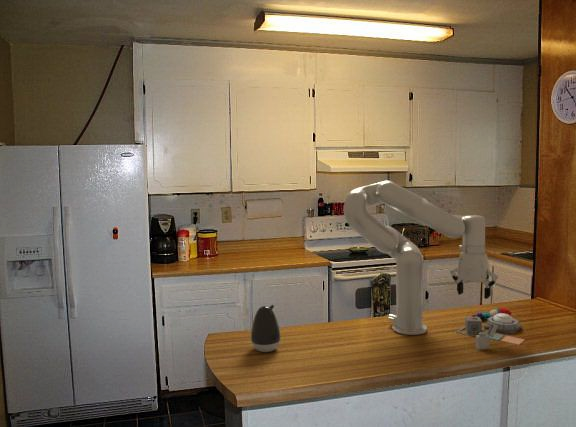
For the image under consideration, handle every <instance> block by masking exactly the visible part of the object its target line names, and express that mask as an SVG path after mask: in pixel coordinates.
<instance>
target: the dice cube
mask: <svg viewBox="0 0 576 427" xmlns="http://www.w3.org/2000/svg"><path fill="white" fill-rule="evenodd" d="M464 318H465V319H464V327H465V328H464V329H465V332H466V334H470V335H479V333H481V332H483V330H482V329H483V320H481V319H480V317H477V316H475V317H471V316H465V317H464Z"/></svg>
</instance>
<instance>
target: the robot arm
mask: <svg viewBox="0 0 576 427" xmlns="http://www.w3.org/2000/svg"><path fill="white" fill-rule="evenodd" d="M383 204H384V205H385V206H388V207H389V208H391V209H393V210H395V211H396V212H397V211H398V212H399V213H401V214H403V215H405V216H407V217H408V218H411V219H412V220H415V221H417V222H419V223H420V224H422V225H425V226H427V227H429V228H430V229H432V230H434V231H437V232H438V233H439V234H442V235H444V236H445V237H447V238H450V239H457V238H460V237H461V236H462V244H460V245H459V246H458V248H459V250H461V252H460V253H459V258H458V265H457V267H456V268H454V269H452V270H450V271H449V272H450V275H451V277H452V279H453V281H455V283H456V291H457V295H462V294H464V282H463V281H465V282H474V283H479V284H480V283H482V284H483V285H484V286H485V287H484V288H483V290H484V291H483V293H484V294H483V295H484V296H483V297H484V298H483V299H485V300H486V299H489V298H490V297H491V296H492V294H491V292H492V291H491V289H492V287H493V286H494V285H495V284H496V282H497V281H498V279H499V277H500V276H499V275H497V274H495V273H494V272H492V271H491V270H490V266H489V259H488V254H487V253H486V219H485V216H483V215H478V214H474V215H472V214H470V215H459V214H452V213H449V212H447V211H446V210H444V209H441V208H440V207H439V206H436V205H434V204H433V203H431V202H430V201H429V200H427V199H426V198H424V197H423V196H421V195H418V194H416V193H414V192H412V191H411V190H408V189H407V188H404V187H402V186H400V185H399V184H397V183H395V182H393V181H391V180H389V179H388V180H387V179H386V180H383V181H379V182H377V183H373V184H369V185H364V186H360V187H357V188H354V189H352V190H350V191H349V192H347V195H346V196H345V200H344V205H343V215H344V218H345V220H346V223H347V224H348V226H349V227H350V228H351V229H352V230H353V231H355V232H356V233H357V234H358V235H359V236H361V237H362V238H363V239H364V240H365V241H367V243H368V244H371V245H372V246H373V247H374V248H376V250H377V251H379V252H380V253H383V254H387V255H388V256H390V257H391V258H392V259H393V260H394V261H396V263H395V266H396V267H395V268H396V270H395V272H396V275H395V277H396V279H395V280H396V281H395V282H396V283H395V288H396V294H395V295H396V315H395V314H391V313H389V315H388V318H387V320H388V321H389V322H393V324H392V330H393V331H394V332H395V333H398V334H401V335H408V336H417V335H423V334H425V333H426V332H427V331H428V326H426V325H425V324H423V321H424V319H423V318H424V317H423V315H424V314H423V313H424V312H423V310H424V309H423V307H424V305H423V304H424V303H423V302H424V301H423V299H424V298H423V292H424V290H423V289H424V288H423V286H424V285H423V283H424V282H423V280H424V279H423V278H424V276H423V275H424V258H423V254H422V252H421V250H420V248H419V247H418V246H417V245H416V244H415V243H414V242H412V241H411V240H410V239H408V238H407V237H406V236H404V234H402V233H401V232H399V231H398V230H397V229H395V228H394V227H392V226H390V225H385V224H383V223H382V222H381V221H379V220H378V219H377V218H376V217H375V216H373V215H372V214H370V213H369V210H368V208H371V207H375V206H380V205H383ZM490 277H491V278H492V279H491V281H490V280H489V279H490Z"/></svg>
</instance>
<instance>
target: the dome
mask: <svg viewBox="0 0 576 427" xmlns="http://www.w3.org/2000/svg"><path fill="white" fill-rule="evenodd" d="M512 318H513V317H512V315H511V316H510V315H508V314H504V313H499V314H496V315H494V322H497V323H502V324H510V323H512Z"/></svg>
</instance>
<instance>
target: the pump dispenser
mask: <svg viewBox="0 0 576 427" xmlns="http://www.w3.org/2000/svg"><path fill="white" fill-rule="evenodd" d="M274 308H275V306H274V304H271V305H270V306H268V305H262V306H260V307H259V308H258V309H257V311H256V312H255V314H254V318H253V321H252V325H251V330H250V331H251V332H250V341H251V343H252V346H253V347H254V349H255V350H256V351H258V352H261V353H271V352H272V351H275V350H276V349H277V348H278V347H279V345H280V342H281V338H282V337H281V331H280V326H279V322H278V319H277V317H276V314H275V312H274V310H273V309H274Z"/></svg>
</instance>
